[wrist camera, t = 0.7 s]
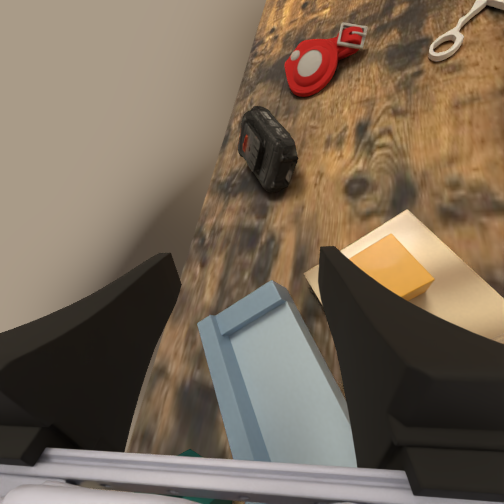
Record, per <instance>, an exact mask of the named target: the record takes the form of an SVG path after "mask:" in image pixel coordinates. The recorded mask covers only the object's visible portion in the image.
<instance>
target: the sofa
mask: <svg viewBox="0 0 504 504" xmlns="http://www.w3.org/2000/svg"><path fill="white" fill-rule="evenodd" d="M197 325H198V329H199V332H200V336H201V340H202V344H203V347H204V351H205V355H206V359H207V362H208V366H209V370H210V374H211V377H212V381H213V385H214V389H215V392H216V396H217V400H218V404H219V407H220V411H221V415H222V419H223V422H224V426H225V430H226V434H227V437H228V441H229V445H230V449H231V452H232V456H233V460H247V461H262V462H278V463H293V464H309V465H324V466H340V467H355V468H357V462H356V455H355V449H354V443H353V437H352V430H351V425H350V419H349V413H348V407H347V402H346V400H345V398H344V396H343V394H342V392H341V391H340V389H339V387H338V385H337V383H336V381H335V379H334V377H333V375H332V374H331V372H330V370H329V368H328V366H327V364H326V362H325V360H324V358H323V357H322V355H321V353H320V351H319V349H318V347H317V345H316V343H315V341H314V340H313V338H312V336H311V334H310V332H309V330H308V328H307V326H306V324H305V323H304V321H303V319H302V317H301V315H300V313H299V311H298V309H297V307H296V306H295V304H294V302H293V300H292V298H291V296H290V294H289V292H288V290H287V289H286V288H285V287H283V286H282V285H280V284H278V283H276V282H274V281H273V280H271V281H269V282H268V283H266V284H265V285H263V286H262V287H260V288H258V289H257V290H255V291H254V292H252V293H251V294H249V295H247V296H246V297H244V298H243V299H241V300H240V301H238V302H236V303H235V304H233V305H232V306H230V307H229V308H227V309H225V310H224V311H222V312H221V313H219V314H218V315H216V316H212V315H209V316H208V317H206V318H205V319H203V320H202V321H200V322H198V323H197ZM245 504H269V503H257V502H245Z"/></svg>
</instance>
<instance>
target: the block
mask: <svg viewBox="0 0 504 504" xmlns="http://www.w3.org/2000/svg"><path fill="white" fill-rule="evenodd" d="M349 260H351V261H352V262H353V263H354V264H355V265H356V266H358V267H359V268H360V269H361V270H363V271H364V272H365V273H366V274H368V275H369V276H370V277H372V278H373V279H374V280H376V281H377V282H379V283H380V284H381V285H383V286H384V287H386V288H387V289H389V290H390V291H392V292H394V293H395V294H397V295H399V296H400V297H402V298H404V299H405V300H407V301H409V300H411V299H413V298H415V297H417V296H419V295H420V294H422V293H424V292H426V291H427V289H428V288H429V287H430V285H431V284H432V283H433V281H434V280H435V279H434V278H433V276H432V275H431V274H430V273H429V272H428V271H427V270H426V269H425V268H424V267H423V266H422V265H421V264H420V263H419V262H418V261H417V260H416V259H415V257H414V256H413V255H412V254H411V253H410V252H409V251H408V250H407V249H406V248H405V247H404V246H403V245H402V244H401V243H400V242H399V241H398V240H397V239H396V237H395V236H394V235H393V234H389V235H387V236H386V237H384V238H382V239H381V240H379V241H378V242H376V243H374V244H373V245H371V246H369V247H368V248H366V249H364V250H363V251H361V252H359V253H358V254H356V255H354V256H353V257H351V258H349Z"/></svg>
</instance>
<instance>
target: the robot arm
mask: <svg viewBox="0 0 504 504" xmlns="http://www.w3.org/2000/svg"><path fill="white" fill-rule="evenodd" d="M181 285H182V284H181V281H180V278H179V275H178V273H177V270H176V267H175V264H174V261H173V258H172V255H171V253H159V254H157V255H155V256H153V257H151V258H150V259H148V260H146V261H145V262H143V263H142V264H140V265H139V266H137V267H136V268H134V269H133V270H131V271H130V272H128V273H126V274H125V275H124V276H122V277H120V278H119V279H117V280H115V281H113V282H112V283H110V284H108V285H107V286H105V287H103V288H102V289H100V290H98V291H97V292H95V293H93V294H91V295H89V296H87V297H85V298H83V299H81V300H79V301H77V302H75V303H73V304H71V305H69V306H67V307H65V308H62V309H60V310H58V311H56V312H53V313H51V314H49V315H47V316H44V317H42V318H40V319H37V320H35V321H32V322H30V323H27V324H24V325H22V326H19V327H16V328H14V329H11V330H8V331H5V332H2V333H0V504H201V503H197V502H194V501H190V500H187V499H183V498H177V497H170V496H163V495H175V496H187V497H198V498H210V499H222V500H234V501H245V502H257V503H269V504H504V344H502V343H499V342H497V341H494V340H491V339H489V338H486V337H484V336H481V335H478V334H476V333H473V332H471V331H469V330H466V329H464V328H462V327H460V326H457V325H455V324H453V323H450V322H448V321H446V320H444V319H442V318H440V317H438V316H436V315H433V314H432V313H430V312H428V311H426V310H424V309H422V308H420V307H418V306H416V305H414V304H412V303H411V302H409V301H407V300H405V299H404V298H402V297H400V296H399V295H397V294H395V293H394V292H392V291H390V290H389V289H387V288H386V287H384V286H383V285H381V284H380V283H379V282H377V281H376V280H374V279H373V278H372V277H370V276H369V275H368V274H366V273H365V272H364V271H363V270H361V269H360V268H359V267H358V266H356V265H355V264H354V263H353V262H352V261H351V260H349V259H348V258H347V257H346V256H345V255H344V254H343V253H341V252H340V251H339V250H338V249H337V248H336V247H335V246H326V247H320V259H319V272H318V285H319V291H320V297H321V301H322V305H323V308H324V311H325V315H326V318H327V321H328V324H329V327H330V331H331V334H332V337H333V340H334V343H335V347H336V351H337V355H338V360H339V365H340V370H341V375H342V380H343V386H344V391H345V396H346V402H347V407H348V413H349V419H350V425H351V430H352V437H353V443H354V449H355V455H356V462H357V468H355V467H340V466H324V465H309V464H293V463H278V462H262V461H247V460H232V459H216V458H201V457H185V456H170V455H154V454H139V453H124V451H125V447H126V442H127V439H128V435H129V430H130V426H131V422H132V418H133V415H134V411H135V408H136V404H137V401H138V397H139V394H140V390H141V387H142V384H143V381H144V378H145V375H146V372H147V369H148V366H149V363H150V360H151V357H152V354H153V352H154V349H155V346H156V344H157V342H158V340H159V338H160V336H161V334H162V332H163V329H164V327H165V325H166V323H167V321H168V319H169V317H170V315H171V313H172V310H173V308H174V306H175V304H176V301H177V298H178V295H179V292H180V288H181ZM90 488H93V489H90ZM99 489H105V490H99ZM111 490H116V491H111ZM123 491H128V492H123ZM134 492H140V493H134ZM146 493H151V494H146ZM157 494H163V495H157Z"/></svg>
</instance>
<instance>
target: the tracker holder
mask: <svg viewBox="0 0 504 504" xmlns="http://www.w3.org/2000/svg"><path fill="white" fill-rule="evenodd" d="M343 27H345V28H346V29H343ZM342 29H343V30H342ZM366 32H367V27H366V26H360V25H355V24H349V23H342V24H341V27H340V32H339V33H338V35H337V37H335V38H331V39H312V40H305V41H302V42H301V43H300V44H299V45H298V46H297V48H296V49H295V50H294V52H293V53H292V54H291V56H290V57H289V58H288V60H287V61H286V62H285V71H286V77H287V80H288V84H289V87H290V89H291V91H292V92H293V93H294V94H295V95H297V96H300V97H307V96H311V95H313V94H316V93H317V92H319V91H320V90H322V89H323V88H324V87H325V86H326V85H327V84H328V83H329V81H330V80H331V78H332V77H333V75H334V73H335V70H336V67H337V60H339V59H342V58H345V57H348V56H350V55H352V54H354V53H356V52H357V51H358V50H359V49H362V48H363V45H364V40H365V36H366Z"/></svg>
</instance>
